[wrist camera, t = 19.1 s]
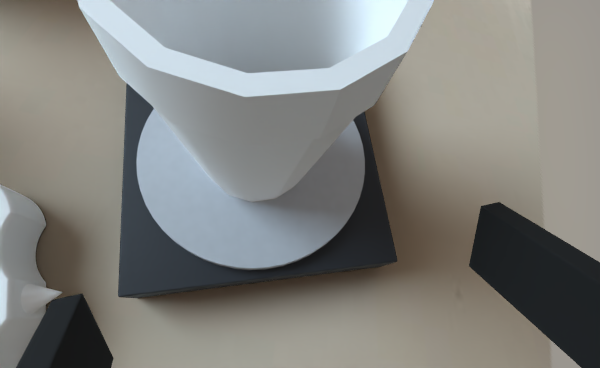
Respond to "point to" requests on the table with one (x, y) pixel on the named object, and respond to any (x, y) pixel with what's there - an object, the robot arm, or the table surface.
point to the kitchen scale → (242, 216)
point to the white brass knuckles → (20, 275)
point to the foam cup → (256, 75)
